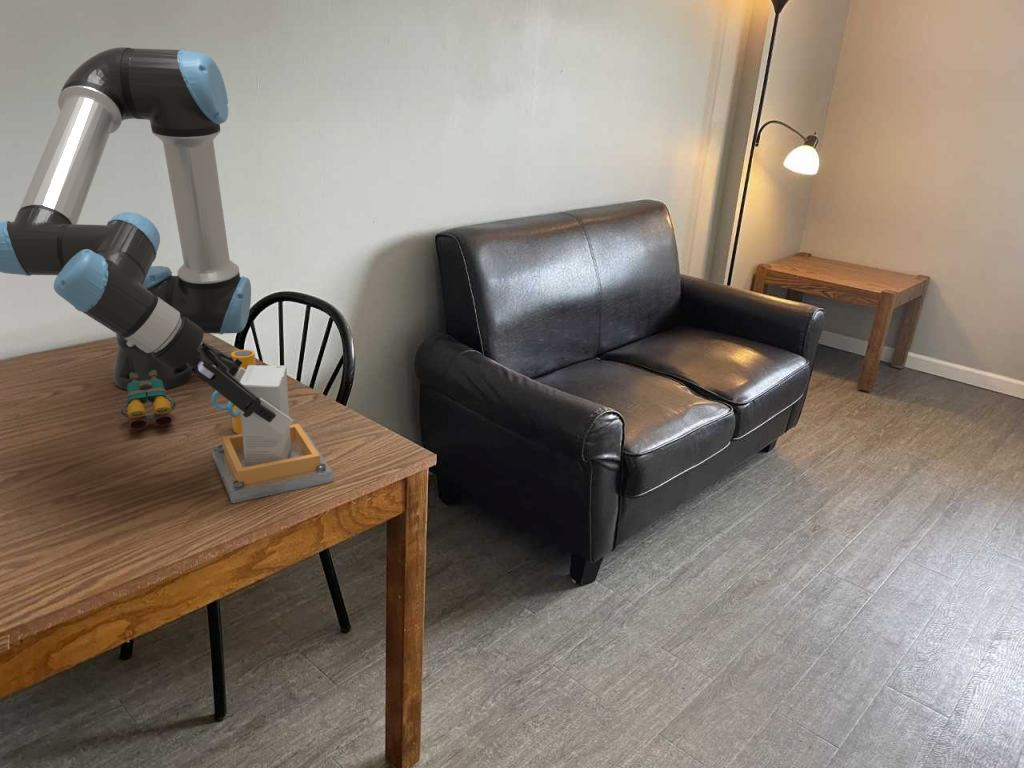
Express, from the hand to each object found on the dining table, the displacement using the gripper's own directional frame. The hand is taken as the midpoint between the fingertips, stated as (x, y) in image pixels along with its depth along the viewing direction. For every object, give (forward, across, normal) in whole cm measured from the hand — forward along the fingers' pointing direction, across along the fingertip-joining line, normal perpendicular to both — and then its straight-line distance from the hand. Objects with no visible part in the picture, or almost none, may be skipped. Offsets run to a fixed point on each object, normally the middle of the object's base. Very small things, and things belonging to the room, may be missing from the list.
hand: (276, 410), depth 124 cm
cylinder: (+7, -17, -9) cm, 20 cm away
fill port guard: (+5, 0, -7) cm, 9 cm away
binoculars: (-4, -25, -20) cm, 32 cm away
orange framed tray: (+7, 0, -9) cm, 11 cm away
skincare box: (+5, 0, -8) cm, 9 cm away
